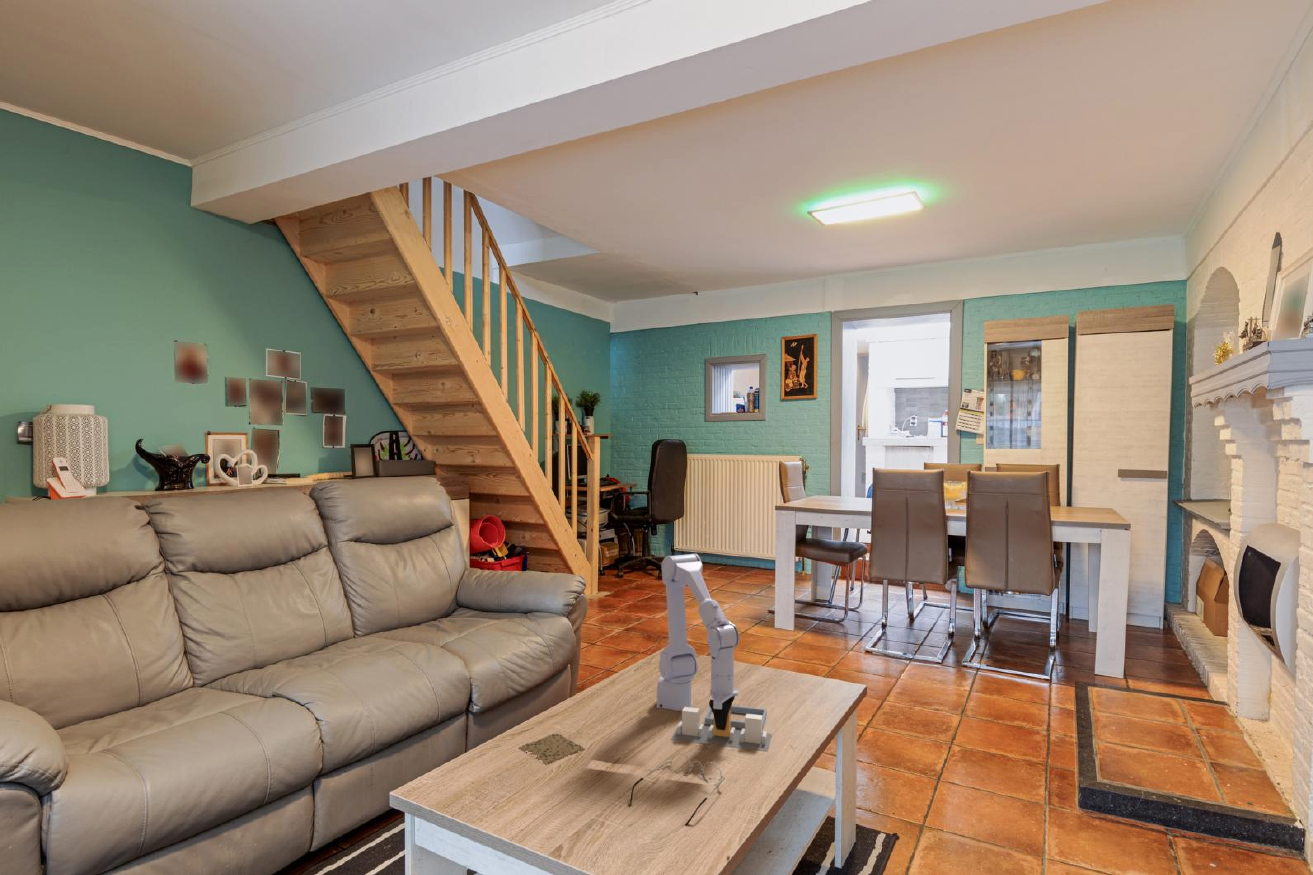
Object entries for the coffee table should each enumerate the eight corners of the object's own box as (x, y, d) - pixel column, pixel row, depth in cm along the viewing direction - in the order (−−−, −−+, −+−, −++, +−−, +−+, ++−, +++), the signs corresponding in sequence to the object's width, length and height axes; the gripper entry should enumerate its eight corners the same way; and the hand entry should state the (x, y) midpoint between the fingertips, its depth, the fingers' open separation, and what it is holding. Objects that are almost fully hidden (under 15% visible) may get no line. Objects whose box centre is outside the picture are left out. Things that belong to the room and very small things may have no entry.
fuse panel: (670, 745, 172) (671, 731, 172) (679, 728, 182) (679, 715, 182) (767, 757, 166) (768, 743, 166) (771, 739, 176) (771, 725, 176)
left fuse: (682, 734, 175) (682, 710, 175) (684, 729, 178) (684, 706, 178) (697, 735, 174) (697, 712, 174) (699, 731, 177) (699, 708, 177)
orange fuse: (713, 734, 173) (713, 711, 173) (715, 730, 176) (715, 707, 176) (729, 736, 172) (729, 712, 172) (730, 732, 175) (730, 708, 175)
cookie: (517, 750, 170) (517, 746, 170) (557, 735, 179) (557, 731, 179) (545, 767, 162) (545, 763, 162) (586, 750, 170) (586, 746, 170)
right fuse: (745, 741, 171) (745, 717, 171) (746, 737, 174) (746, 713, 174) (761, 743, 170) (761, 719, 170) (762, 739, 173) (762, 715, 173)
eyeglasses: (730, 788, 153) (730, 765, 153) (691, 830, 137) (691, 804, 137) (667, 769, 161) (667, 748, 161) (623, 807, 145) (623, 783, 145)
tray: (704, 729, 182) (704, 717, 182) (711, 713, 192) (711, 703, 192) (762, 736, 178) (762, 724, 178) (766, 720, 188) (766, 709, 188)
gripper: (734, 684, 166) (733, 740, 166) (742, 664, 180) (741, 716, 180) (705, 681, 168) (704, 737, 168) (715, 662, 182) (714, 713, 182)
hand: (721, 726), depth 174 cm, fingers closed on orange fuse, 3 cm apart
